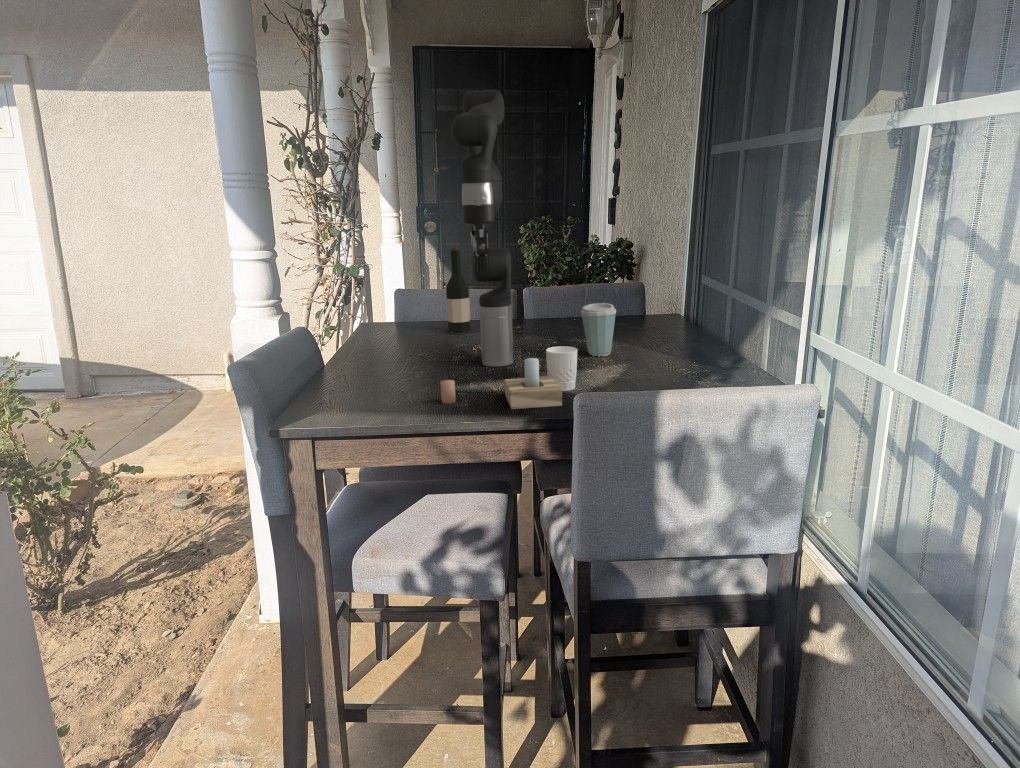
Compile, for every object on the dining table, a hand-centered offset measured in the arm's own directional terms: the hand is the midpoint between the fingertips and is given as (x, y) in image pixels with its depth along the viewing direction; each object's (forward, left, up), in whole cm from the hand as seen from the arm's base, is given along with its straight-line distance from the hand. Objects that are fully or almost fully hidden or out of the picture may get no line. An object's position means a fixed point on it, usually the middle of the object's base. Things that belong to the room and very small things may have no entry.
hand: (480, 270), depth 175 cm
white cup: (+5, +19, -30) cm, 36 cm away
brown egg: (+10, -10, -30) cm, 33 cm away
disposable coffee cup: (-29, +37, -30) cm, 56 cm away
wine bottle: (-78, -2, -30) cm, 84 cm away
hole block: (+14, +10, -30) cm, 35 cm away
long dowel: (+14, +10, -30) cm, 35 cm away
